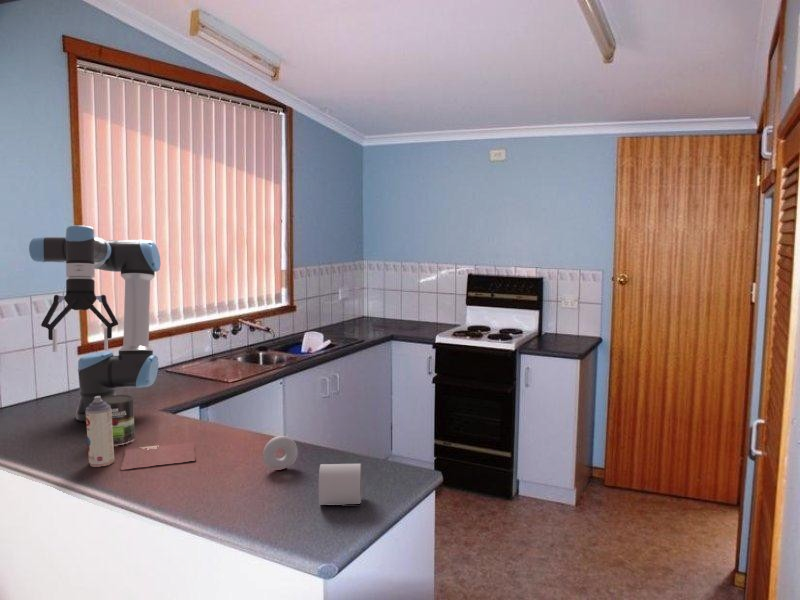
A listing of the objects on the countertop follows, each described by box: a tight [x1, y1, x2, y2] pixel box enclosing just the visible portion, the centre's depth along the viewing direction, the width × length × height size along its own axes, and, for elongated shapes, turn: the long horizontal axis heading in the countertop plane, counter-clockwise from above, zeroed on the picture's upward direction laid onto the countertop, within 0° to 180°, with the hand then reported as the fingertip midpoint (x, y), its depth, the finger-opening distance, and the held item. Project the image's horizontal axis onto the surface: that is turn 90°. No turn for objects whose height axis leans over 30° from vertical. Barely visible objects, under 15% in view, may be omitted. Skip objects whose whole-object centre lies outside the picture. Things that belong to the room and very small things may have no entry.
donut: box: [262, 435, 299, 468], centre depth 185 cm, size 10×4×10 cm, turn 116°
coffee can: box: [101, 394, 136, 445], centre depth 210 cm, size 10×10×14 cm
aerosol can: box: [85, 396, 115, 464], centre depth 190 cm, size 7×7×20 cm
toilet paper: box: [318, 463, 362, 506], centre depth 163 cm, size 10×10×10 cm
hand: (80, 350), depth 191 cm, fingers open, 13 cm apart
